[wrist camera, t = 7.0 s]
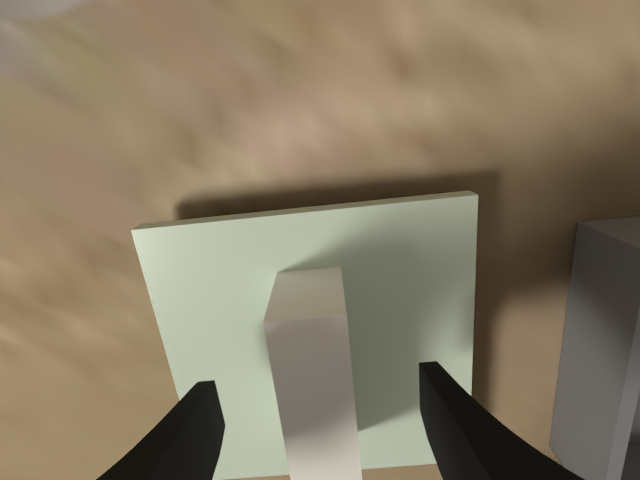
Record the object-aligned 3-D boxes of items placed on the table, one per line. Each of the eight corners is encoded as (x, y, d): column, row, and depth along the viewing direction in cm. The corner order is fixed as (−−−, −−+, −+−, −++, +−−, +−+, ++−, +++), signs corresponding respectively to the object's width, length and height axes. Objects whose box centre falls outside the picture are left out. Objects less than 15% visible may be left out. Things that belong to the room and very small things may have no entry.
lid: (455, 428, 18) (505, 546, 13) (213, 448, 19) (173, 568, 14) (459, 185, 14) (533, 222, 9) (152, 216, 15) (67, 268, 10)
